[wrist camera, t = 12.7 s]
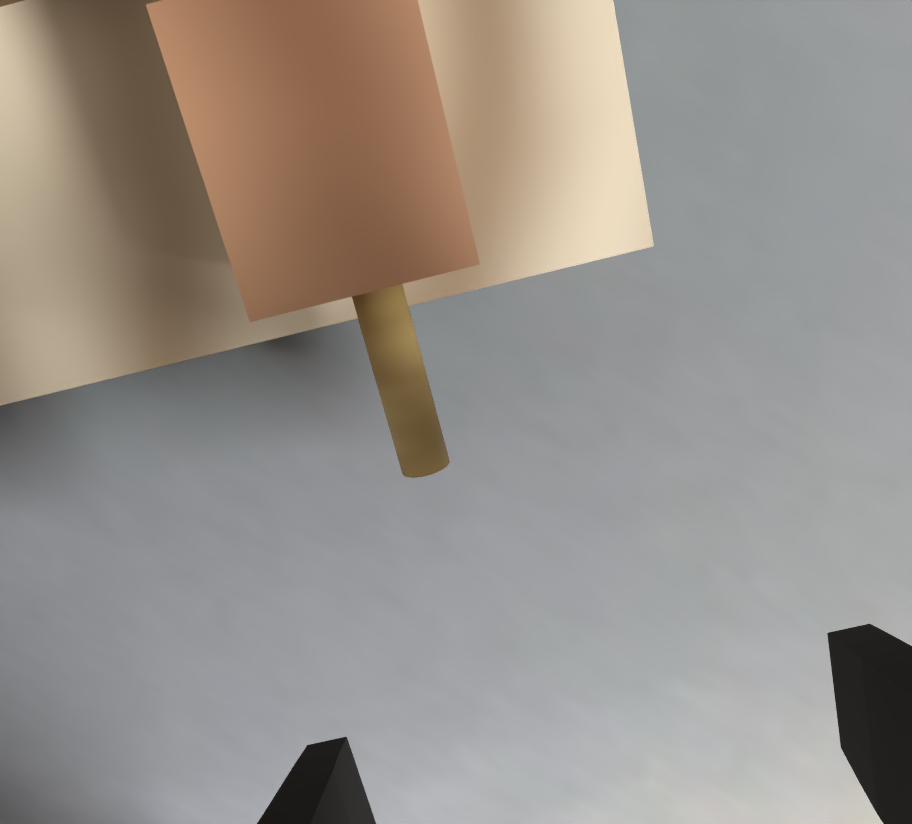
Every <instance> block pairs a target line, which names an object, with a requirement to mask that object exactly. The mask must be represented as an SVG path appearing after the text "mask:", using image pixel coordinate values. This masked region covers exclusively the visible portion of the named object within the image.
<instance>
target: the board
mask: <svg viewBox="0 0 912 824" xmlns="http://www.w3.org/2000/svg"><path fill="white" fill-rule="evenodd" d="M157 1H161V0H0V406H1V405H5V404H9V403H13V402H17V401H21V400H25V399H29V398H33V397H38V396H42V395H46V394H50V393H54V392H58V391H62V390H66V389H70V388H74V387H79V386H83V385H87V384H91V383H95V382H99V381H103V380H107V379H111V378H115V377H120V376H124V375H128V374H132V373H136V372H140V371H144V370H148V369H152V368H156V367H161V366H165V365H169V364H173V363H177V362H181V361H185V360H189V359H193V358H197V357H202V356H206V355H210V354H214V353H218V352H222V351H226V350H230V349H234V348H238V347H243V346H247V345H251V344H255V343H259V342H263V341H267V340H271V339H275V338H279V337H284V336H288V335H292V334H296V333H300V332H304V331H308V330H312V329H316V328H320V327H325V326H329V325H333V324H337V323H341V322H345V321H349V320H353V319H357V318H358V317H357V313H356V310H355V306H354V303H353V299H352V297H348V298H344V299H340V300H336V301H332V302H328V303H324V304H320V305H317V306H313V307H309V308H305V309H301V310H297V311H293V312H289V313H285V314H281V315H277V316H273V317H269V318H265V319H261V320H257V321H253V322H250V321H249V318H248V315H247V312H246V309H245V306H244V303H243V300H242V297H241V294H240V291H239V288H238V285H237V282H236V279H235V276H234V273H233V270H232V266H231V263H230V260H229V257H228V254H227V251H226V248H225V245H224V242H223V239H222V236H221V233H220V230H219V227H218V224H217V221H216V218H215V215H214V212H213V208H212V205H211V202H210V199H209V196H208V193H207V190H206V187H205V184H204V181H203V178H202V175H201V172H200V169H199V166H198V163H197V160H196V157H195V154H194V151H193V147H192V144H191V141H190V138H189V135H188V132H187V129H186V126H185V123H184V120H183V117H182V114H181V111H180V108H179V105H178V102H177V99H176V96H175V93H174V90H173V86H172V83H171V80H170V77H169V74H168V71H167V68H166V65H165V62H164V59H163V56H162V53H161V50H160V47H159V44H158V41H157V38H156V35H155V32H154V29H153V25H152V22H151V19H150V16H149V13H148V10H147V7H146V4H150V3H154V2H157ZM418 4H419V8H420V12H421V16H422V21H423V25H424V29H425V33H426V38H427V42H428V46H429V50H430V55H431V59H432V63H433V67H434V72H435V76H436V80H437V84H438V88H439V93H440V97H441V101H442V105H443V110H444V114H445V118H446V122H447V127H448V131H449V135H450V139H451V144H452V148H453V152H454V156H455V160H456V165H457V169H458V173H459V177H460V182H461V186H462V190H463V194H464V199H465V203H466V207H467V211H468V216H469V220H470V224H471V228H472V232H473V237H474V241H475V245H476V249H477V254H478V258H479V262H480V265H476V266H472V267H468V268H464V269H460V270H456V271H452V272H448V273H444V274H440V275H436V276H432V277H428V278H424V279H420V280H416V281H412V282H408V283H404V284H402V285H403V288H404V292H405V296H406V300H407V303H408V306H411V305H415V304H419V303H423V302H427V301H431V300H435V299H439V298H443V297H448V296H452V295H456V294H460V293H464V292H468V291H472V290H476V289H480V288H484V287H489V286H493V285H497V284H501V283H505V282H509V281H513V280H517V279H521V278H525V277H530V276H534V275H538V274H542V273H546V272H550V271H554V270H558V269H562V268H566V267H571V266H575V265H579V264H583V263H587V262H591V261H595V260H599V259H603V258H607V257H612V256H616V255H620V254H624V253H628V252H632V251H636V250H640V249H644V248H648V247H653V246H654V244H653V238H652V232H651V226H650V220H649V214H648V208H647V202H646V196H645V190H644V184H643V178H642V172H641V166H640V160H639V154H638V147H637V141H636V135H635V129H634V123H633V117H632V111H631V105H630V99H629V93H628V87H627V81H626V75H625V69H624V63H623V57H622V51H621V45H620V39H619V33H618V27H617V21H616V14H615V8H614V2H613V0H418Z"/></svg>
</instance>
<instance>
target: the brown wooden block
mask: <svg viewBox="0 0 912 824" xmlns="http://www.w3.org/2000/svg"><path fill="white" fill-rule="evenodd" d="M146 7H147V10H148V13H149V16H150V19H151V22H152V25H153V29H154V32H155V35H156V38H157V41H158V44H159V47H160V50H161V53H162V56H163V59H164V62H165V65H166V68H167V71H168V74H169V77H170V80H171V83H172V86H173V90H174V93H175V96H176V99H177V102H178V105H179V108H180V111H181V114H182V117H183V120H184V123H185V126H186V129H187V132H188V135H189V138H190V141H191V144H192V147H193V151H194V154H195V157H196V160H197V163H198V166H199V169H200V172H201V175H202V178H203V181H204V184H205V187H206V190H207V193H208V196H209V199H210V202H211V205H212V208H213V212H214V215H215V218H216V221H217V224H218V227H219V230H220V233H221V236H222V239H223V242H224V245H225V248H226V251H227V254H228V257H229V260H230V263H231V266H232V270H233V273H234V276H235V279H236V282H237V285H238V288H239V291H240V294H241V297H242V300H243V303H244V306H245V309H246V312H247V315H248V318H249V321H250V322H253V321H257V320H261V319H265V318H269V317H273V316H277V315H281V314H285V313H289V312H293V311H297V310H301V309H305V308H309V307H313V306H317V305H320V304H324V303H328V302H332V301H336V300H340V299H344V298H348V297H352V299H353V303H354V306H355V310H356V313H357V317H358V320H359V324H360V327H361V331H362V334H363V338H364V341H365V345H366V348H367V352H368V355H369V359H370V362H371V366H372V369H373V373H374V376H375V380H376V383H377V386H378V390H379V393H380V397H381V400H382V404H383V407H384V411H385V414H386V418H387V421H388V425H389V428H390V432H391V435H392V439H393V442H394V446H395V449H396V453H397V456H398V460H399V463H400V467H401V470H402V474H403V475H404V476H406V477H411V478H415V477H423V476H427V475H431V474H433V473H436V472H438V471H440V470H442V469H444V468H445V467H446V466H447V465H448V464H449V462H450V461H449V457H448V453H447V450H446V446H445V442H444V438H443V435H442V431H441V427H440V423H439V420H438V416H437V412H436V408H435V405H434V401H433V397H432V393H431V390H430V386H429V382H428V378H427V375H426V371H425V367H424V363H423V360H422V356H421V352H420V348H419V345H418V341H417V337H416V333H415V330H414V326H413V322H412V318H411V315H410V311H409V307H408V303H407V300H406V296H405V292H404V288H403V285H402V284H404V283H408V282H412V281H416V280H420V279H424V278H428V277H432V276H436V275H440V274H444V273H448V272H452V271H456V270H460V269H464V268H468V267H472V266H476V265H480V262H479V258H478V254H477V249H476V245H475V241H474V237H473V232H472V228H471V224H470V220H469V216H468V211H467V207H466V203H465V199H464V194H463V190H462V186H461V182H460V177H459V173H458V169H457V165H456V160H455V156H454V152H453V148H452V144H451V139H450V135H449V131H448V127H447V122H446V118H445V114H444V110H443V105H442V101H441V97H440V93H439V88H438V84H437V80H436V76H435V72H434V67H433V63H432V59H431V55H430V50H429V46H428V42H427V38H426V33H425V29H424V25H423V21H422V16H421V12H420V8H419V4H418V0H161V1H157V2H154V3H150V4H146Z"/></svg>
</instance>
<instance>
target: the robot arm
mask: <svg viewBox="0 0 912 824" xmlns="http://www.w3.org/2000/svg"><path fill="white" fill-rule="evenodd" d="M828 642H829V650H830V659H831V667H832V675H833V684H834V692H835V701H836V709H837V718H838V726H839V734H840V743H841V749H842V750H843V752H844V754H845V756H846V758H847V760H848V762H849V764H850V765H851V767H852V769H853V771H854V773H855V775H856V777H857V778H858V780H859V782H860V784H861V786H862V788H863V789H864V791H865V793H866V795H867V797H868V798H869V800H870V802H871V804H872V805H873V807H874V809H875V811H876V812H877V814H878V816H879V817H880V819H881V820H882V822H883V823H884V824H912V646H910V645H908V644H907V643H905V642H903V641H901V640H899V639H898V638H896V637H894V636H892V635H890V634H888V633H886V632H885V631H883V630H881V629H879V628H877V627H875V626H873V625H871V624H867V625H862V626H857V627H853V628H848V629H844V630H839V631H834V632H830V633H828ZM257 824H376V822H375V819H374V816H373V814H372V811H371V808H370V805H369V802H368V799H367V796H366V793H365V790H364V787H363V784H362V781H361V778H360V775H359V772H358V769H357V766H356V763H355V760H354V757H353V754H352V751H351V748H350V746H349V743H348V740H347V737H343V738H339V739H334V740H329V741H325V742H320V743H315V744H311V745H307V747H306V748H305V750H304V751H303V753H302V754H301V756H300V757H299V759H298V760H297V762H296V763H295V765H294V766H293V768H292V770H291V771H290V773H289V774H288V776H287V777H286V779H285V781H284V782H283V784H282V785H281V787H280V789H279V790H278V792H277V793H276V795H275V796H274V798H273V800H272V801H271V803H270V804H269V806H268V807H267V809H266V811H265V812H264V814H263V815H262V817H261V818H260V820H259V822H258V823H257Z"/></svg>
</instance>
